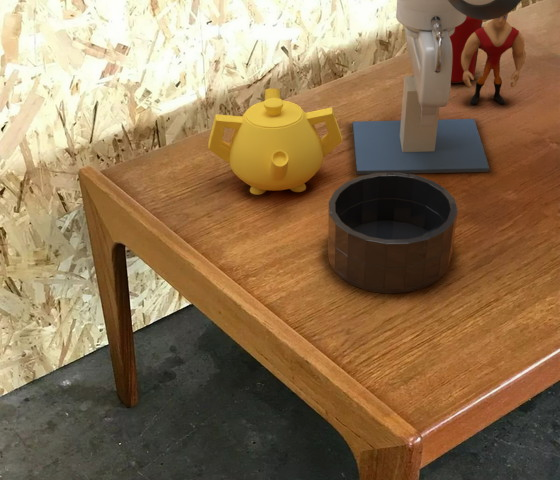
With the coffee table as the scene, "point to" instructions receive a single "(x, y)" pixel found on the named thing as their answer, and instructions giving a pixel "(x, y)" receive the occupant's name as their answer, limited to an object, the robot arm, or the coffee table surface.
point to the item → (415, 122)
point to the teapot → (275, 143)
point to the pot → (391, 232)
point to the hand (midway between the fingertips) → (422, 107)
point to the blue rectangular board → (445, 159)
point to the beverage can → (458, 46)
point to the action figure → (493, 54)
